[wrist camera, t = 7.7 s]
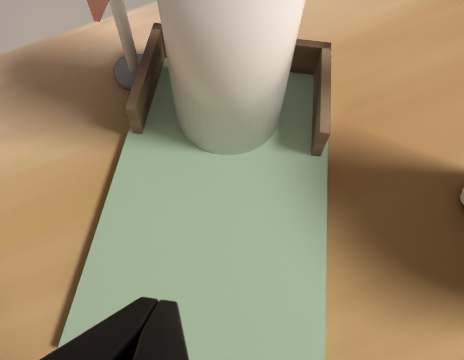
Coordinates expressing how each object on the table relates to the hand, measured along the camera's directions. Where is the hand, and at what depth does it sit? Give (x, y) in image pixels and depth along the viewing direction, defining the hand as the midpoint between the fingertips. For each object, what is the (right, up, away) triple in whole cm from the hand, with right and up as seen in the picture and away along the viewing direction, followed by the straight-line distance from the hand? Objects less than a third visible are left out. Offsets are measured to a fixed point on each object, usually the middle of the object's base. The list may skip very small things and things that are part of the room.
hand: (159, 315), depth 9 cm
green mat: (+1, +3, +15) cm, 15 cm away
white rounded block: (+1, +8, +17) cm, 19 cm away
